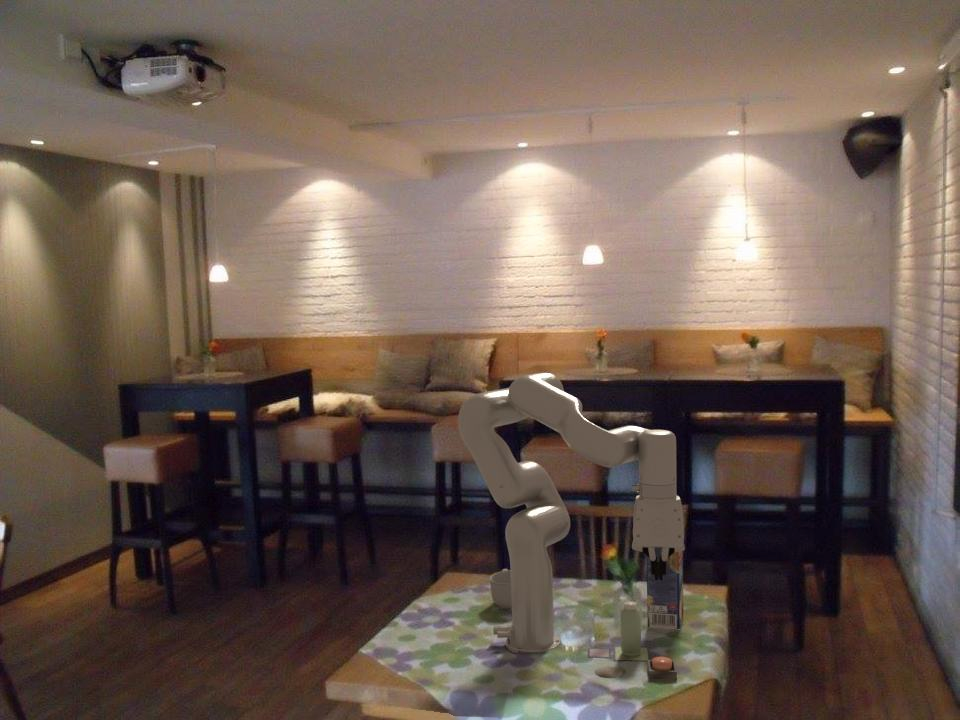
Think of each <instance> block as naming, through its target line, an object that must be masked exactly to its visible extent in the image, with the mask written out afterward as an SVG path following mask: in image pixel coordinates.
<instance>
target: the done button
mask: <svg viewBox="0 0 960 720" xmlns="http://www.w3.org/2000/svg"><path fill="white" fill-rule="evenodd" d="M651 660H652V670H657V671H672V661H673V660H672V659H671V658H669V657H666V656H656V657H653V658H652V659H651Z"/></svg>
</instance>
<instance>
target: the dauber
mask: <svg viewBox="0 0 960 720" xmlns="http://www.w3.org/2000/svg"><path fill="white" fill-rule="evenodd" d="M619 610H620V612H619V613H620V615H619V617H620V619H619V620H620V623H619V624H620V647H621V650H622V655H624V656H626V657H638V656H640V651H641V647H642V612H641V607H639V606H638V604H637V602H635V601H625V602H624V603H623V606H621V607H620V608H619Z"/></svg>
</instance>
